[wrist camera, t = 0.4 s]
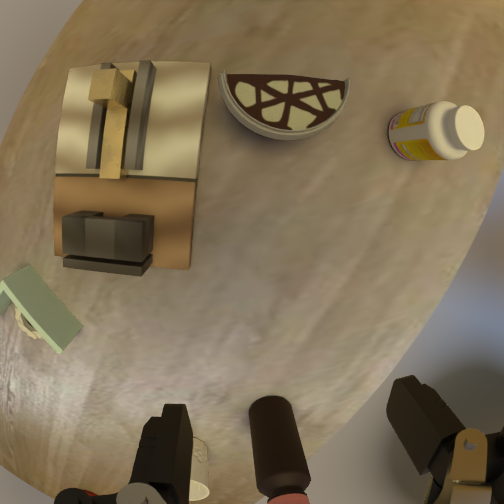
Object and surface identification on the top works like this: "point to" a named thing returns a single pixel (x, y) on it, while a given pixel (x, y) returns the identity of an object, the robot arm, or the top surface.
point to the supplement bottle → (436, 132)
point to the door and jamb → (131, 172)
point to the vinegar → (278, 452)
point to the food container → (283, 103)
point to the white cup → (199, 471)
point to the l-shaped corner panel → (38, 308)
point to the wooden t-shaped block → (114, 116)
